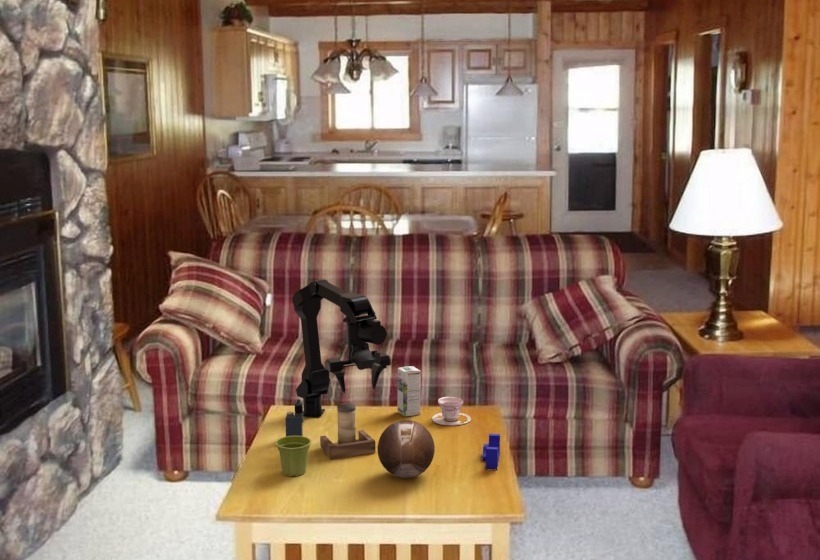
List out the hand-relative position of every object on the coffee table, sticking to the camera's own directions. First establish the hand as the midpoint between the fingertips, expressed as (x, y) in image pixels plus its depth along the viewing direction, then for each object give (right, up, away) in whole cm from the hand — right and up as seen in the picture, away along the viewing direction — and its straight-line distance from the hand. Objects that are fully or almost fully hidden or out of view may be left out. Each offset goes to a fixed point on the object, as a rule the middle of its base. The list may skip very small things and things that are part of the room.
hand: (358, 390), depth 295 cm
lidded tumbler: (-3, -15, -10) cm, 18 cm away
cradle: (-3, -16, -11) cm, 19 cm away
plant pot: (-16, -19, -27) cm, 37 cm away
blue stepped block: (+37, -18, -20) cm, 46 cm away
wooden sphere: (+14, -19, -30) cm, 38 cm away
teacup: (+28, -11, +14) cm, 33 cm away
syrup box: (+15, -10, +21) cm, 27 cm away
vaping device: (-19, -14, -2) cm, 23 cm away
